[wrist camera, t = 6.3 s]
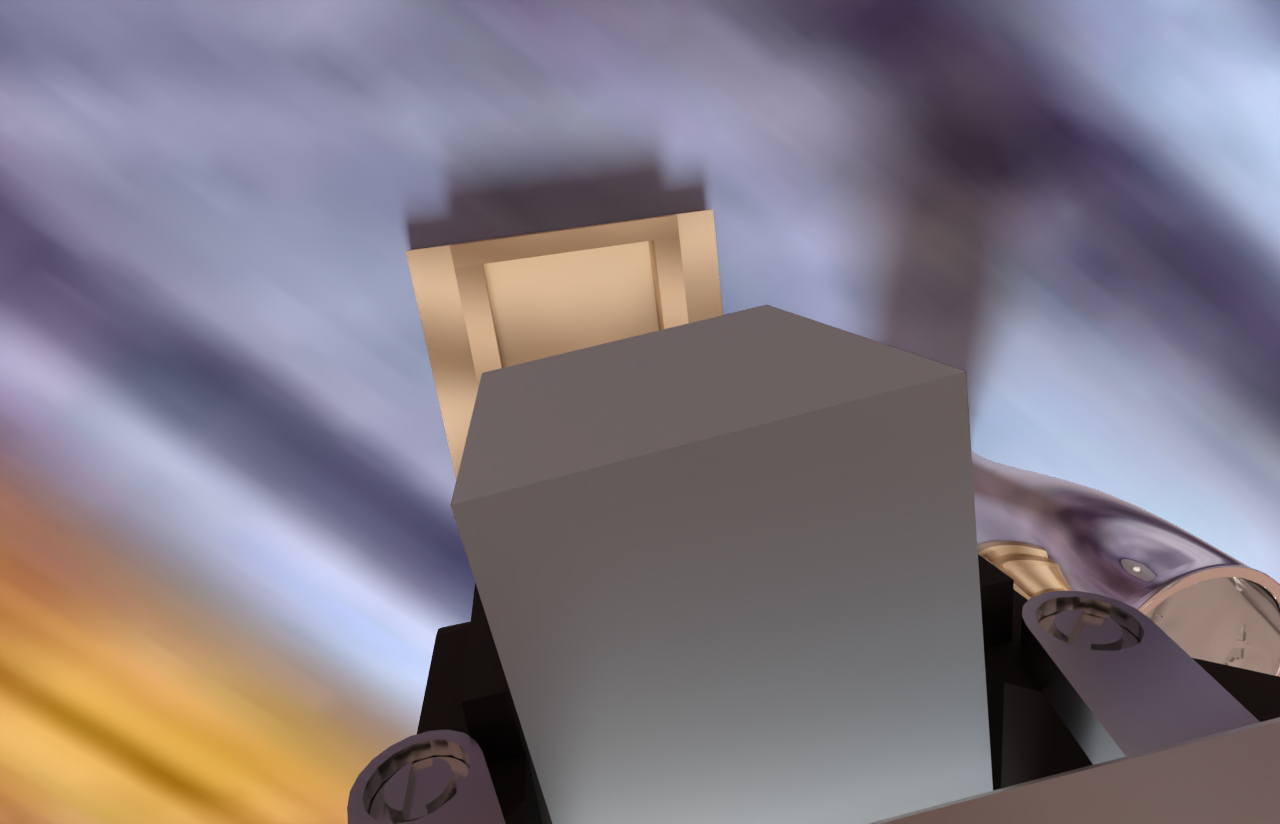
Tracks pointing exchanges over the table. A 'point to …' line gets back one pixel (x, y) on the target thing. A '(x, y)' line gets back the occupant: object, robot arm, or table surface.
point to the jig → (556, 297)
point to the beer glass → (1126, 563)
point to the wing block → (733, 574)
